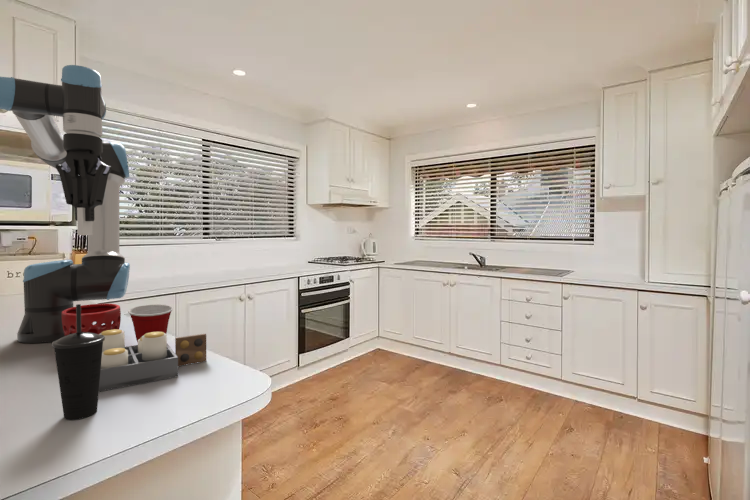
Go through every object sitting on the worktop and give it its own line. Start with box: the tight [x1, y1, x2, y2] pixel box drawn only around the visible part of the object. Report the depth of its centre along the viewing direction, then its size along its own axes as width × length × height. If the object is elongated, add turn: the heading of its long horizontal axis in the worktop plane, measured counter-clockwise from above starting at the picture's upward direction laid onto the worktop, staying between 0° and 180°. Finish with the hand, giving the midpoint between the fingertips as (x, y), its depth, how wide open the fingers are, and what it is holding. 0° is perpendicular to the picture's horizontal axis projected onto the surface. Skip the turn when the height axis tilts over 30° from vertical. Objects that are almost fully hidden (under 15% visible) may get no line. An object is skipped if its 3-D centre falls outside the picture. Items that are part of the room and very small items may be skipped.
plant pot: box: [62, 303, 122, 336], centre depth 109 cm, size 13×13×12 cm
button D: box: [142, 332, 168, 361], centre depth 91 cm, size 5×5×5 cm
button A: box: [99, 328, 126, 353], centre depth 93 cm, size 5×5×5 cm
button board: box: [99, 343, 179, 392], centre depth 92 cm, size 16×16×4 cm
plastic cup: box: [127, 303, 174, 344], centre depth 109 cm, size 11×11×12 cm
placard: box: [174, 333, 207, 367], centre depth 100 cm, size 1×7×7 cm, turn 127°
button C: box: [101, 348, 128, 369], centre depth 87 cm, size 5×5×5 cm
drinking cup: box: [51, 304, 105, 421], centre depth 72 cm, size 8×8×20 cm
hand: (85, 234), depth 96 cm, fingers closed
